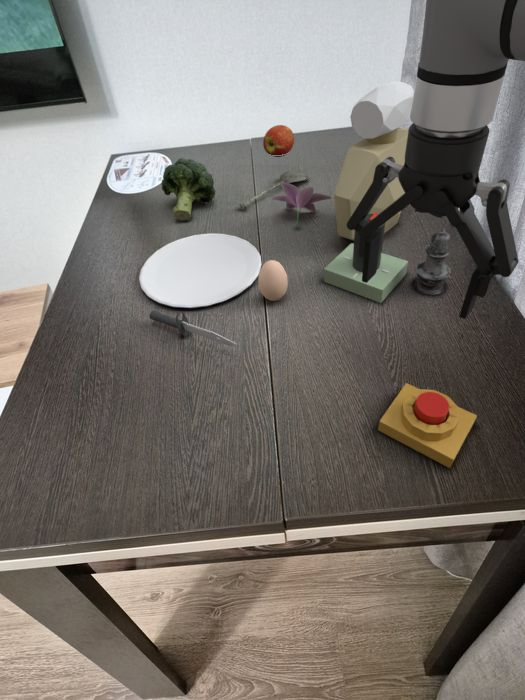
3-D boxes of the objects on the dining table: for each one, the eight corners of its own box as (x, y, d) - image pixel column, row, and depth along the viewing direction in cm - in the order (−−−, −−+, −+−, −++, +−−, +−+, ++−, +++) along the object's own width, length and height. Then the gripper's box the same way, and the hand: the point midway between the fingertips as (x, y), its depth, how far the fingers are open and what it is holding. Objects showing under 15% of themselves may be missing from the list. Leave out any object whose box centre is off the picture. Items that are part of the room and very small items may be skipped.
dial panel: (406, 274, 83) (408, 260, 81) (381, 303, 78) (382, 289, 76) (350, 255, 89) (351, 242, 86) (323, 281, 84) (323, 268, 81)
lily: (337, 225, 99) (336, 180, 96) (305, 228, 91) (304, 178, 88) (295, 227, 107) (293, 185, 104) (262, 230, 98) (260, 184, 96)
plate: (285, 254, 91) (285, 249, 90) (211, 328, 77) (210, 322, 76) (193, 227, 102) (192, 222, 101) (114, 287, 88) (112, 282, 87)
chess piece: (450, 294, 78) (467, 235, 69) (417, 297, 78) (429, 238, 70) (441, 274, 82) (455, 216, 73) (409, 277, 82) (420, 219, 74)
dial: (372, 275, 79) (377, 230, 72) (347, 267, 81) (350, 222, 74) (384, 261, 81) (390, 216, 74) (360, 254, 83) (364, 209, 77)
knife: (244, 350, 72) (239, 327, 68) (236, 359, 70) (230, 337, 67) (160, 320, 81) (152, 298, 77) (151, 327, 79) (142, 306, 76)
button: (451, 408, 57) (454, 400, 56) (438, 430, 55) (441, 422, 54) (421, 395, 59) (424, 387, 58) (408, 415, 57) (410, 407, 56)
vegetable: (146, 214, 104) (159, 161, 108) (192, 237, 111) (203, 188, 115) (170, 193, 94) (184, 137, 98) (218, 221, 102) (229, 167, 106)
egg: (254, 300, 81) (249, 263, 76) (273, 286, 84) (269, 249, 78) (276, 311, 79) (272, 274, 73) (294, 296, 81) (292, 259, 75)
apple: (260, 157, 125) (257, 128, 119) (278, 147, 129) (276, 118, 124) (282, 163, 121) (280, 133, 116) (300, 152, 125) (299, 122, 120)
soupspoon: (313, 182, 113) (294, 177, 117) (312, 169, 111) (294, 164, 115) (250, 214, 103) (232, 207, 107) (248, 200, 101) (230, 193, 105)
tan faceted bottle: (424, 214, 97) (453, 69, 77) (362, 266, 86) (376, 112, 66) (377, 199, 103) (392, 61, 83) (313, 246, 92) (313, 100, 72)
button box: (473, 424, 59) (481, 407, 56) (449, 468, 55) (457, 452, 52) (403, 392, 64) (408, 374, 61) (377, 430, 60) (380, 413, 57)
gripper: (605, 130, 39) (524, 311, 54) (356, 96, 51) (347, 252, 66) (584, 162, 35) (503, 348, 50) (320, 117, 47) (320, 277, 62)
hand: (414, 293), depth 58 cm, fingers open, 13 cm apart
